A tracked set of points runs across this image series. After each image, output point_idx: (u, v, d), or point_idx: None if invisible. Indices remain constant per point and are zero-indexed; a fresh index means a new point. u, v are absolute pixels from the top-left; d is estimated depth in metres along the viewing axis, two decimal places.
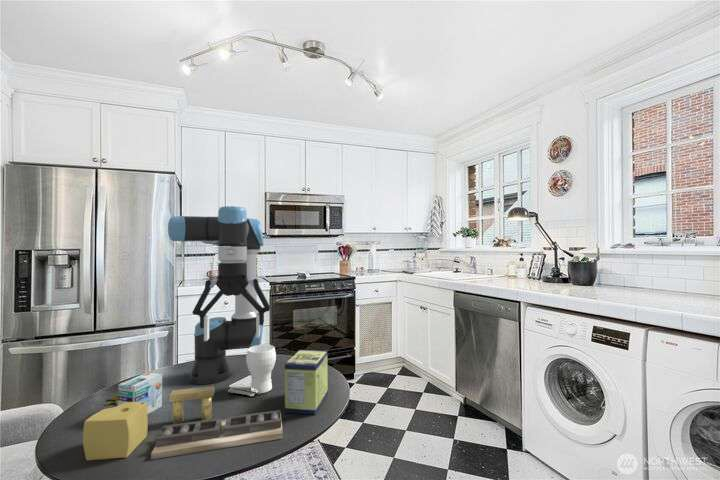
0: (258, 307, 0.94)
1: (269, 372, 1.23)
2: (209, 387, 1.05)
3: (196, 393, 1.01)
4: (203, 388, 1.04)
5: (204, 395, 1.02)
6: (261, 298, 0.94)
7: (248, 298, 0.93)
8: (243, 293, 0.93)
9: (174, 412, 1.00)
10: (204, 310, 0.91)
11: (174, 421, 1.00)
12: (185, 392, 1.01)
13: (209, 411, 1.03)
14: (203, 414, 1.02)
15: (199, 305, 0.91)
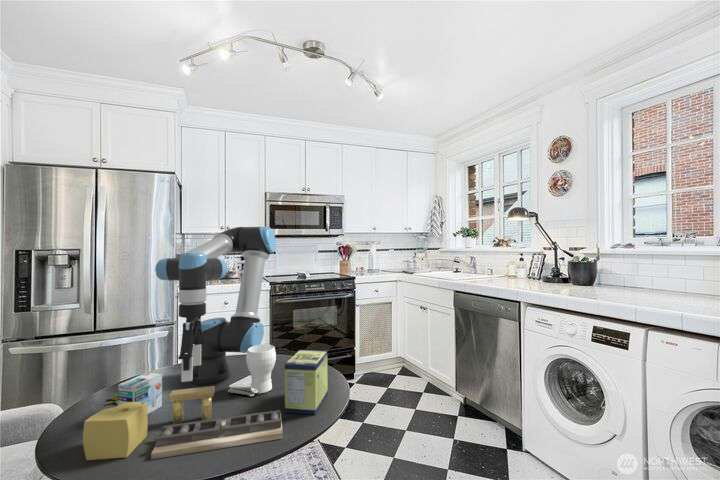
0: None
1: (269, 372, 1.23)
2: (209, 387, 1.05)
3: (196, 393, 1.01)
4: (203, 388, 1.04)
5: (204, 395, 1.02)
6: None
7: None
8: None
9: (174, 412, 1.00)
10: None
11: (174, 421, 1.00)
12: (185, 392, 1.01)
13: (209, 411, 1.03)
14: (203, 414, 1.02)
15: None
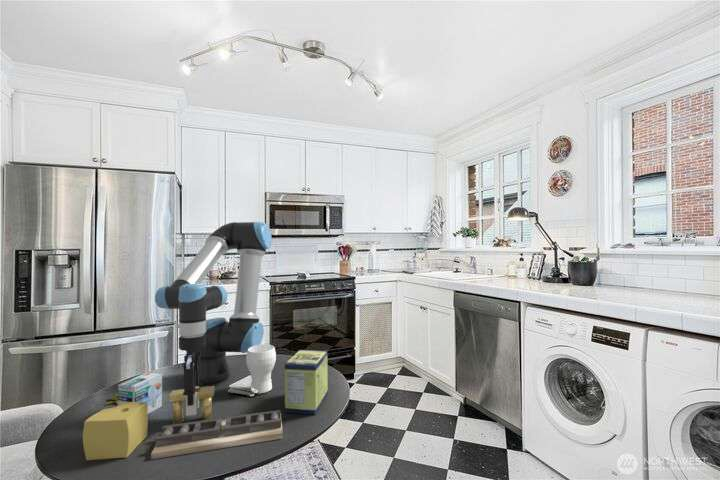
0: None
1: (269, 372, 1.23)
2: (209, 387, 1.05)
3: (196, 393, 1.01)
4: (203, 388, 1.04)
5: (204, 395, 1.02)
6: None
7: None
8: None
9: (174, 412, 1.00)
10: None
11: (174, 421, 1.00)
12: None
13: (209, 411, 1.03)
14: (203, 414, 1.02)
15: None
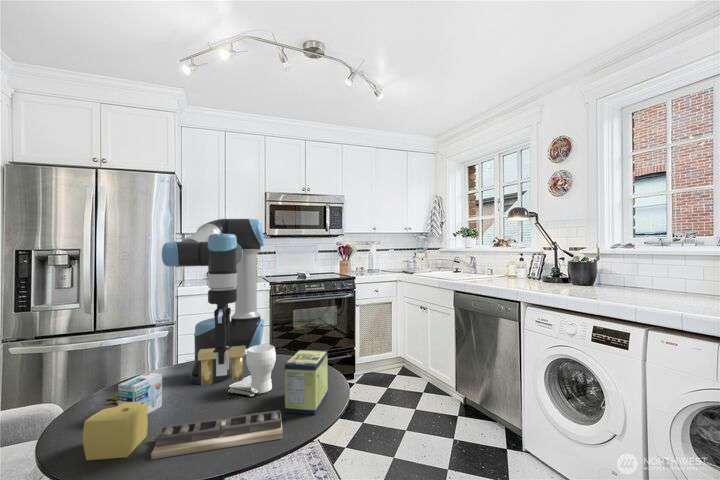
0: None
1: (269, 372, 1.23)
2: (240, 346, 0.96)
3: (227, 352, 0.93)
4: (233, 347, 0.95)
5: (235, 354, 0.93)
6: None
7: None
8: None
9: (203, 372, 0.91)
10: None
11: (203, 382, 0.91)
12: None
13: (240, 372, 0.94)
14: (234, 375, 0.94)
15: None
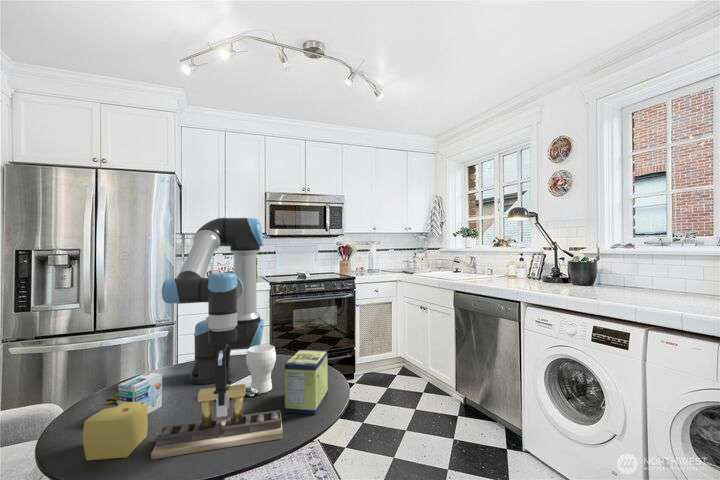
0: None
1: (269, 372, 1.23)
2: (240, 385, 0.96)
3: (227, 392, 0.92)
4: (234, 386, 0.95)
5: (235, 394, 0.93)
6: None
7: None
8: None
9: (203, 413, 0.91)
10: None
11: (203, 423, 0.91)
12: None
13: (240, 412, 0.94)
14: (234, 415, 0.93)
15: None
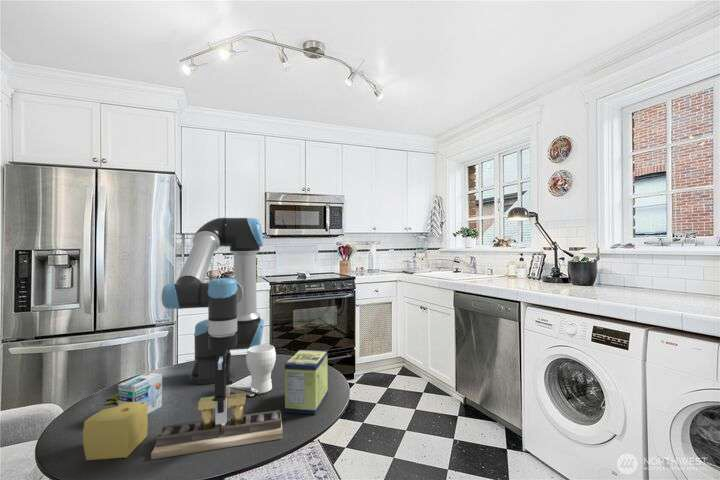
0: None
1: (269, 372, 1.23)
2: (240, 394, 0.96)
3: (227, 400, 0.93)
4: (234, 395, 0.95)
5: (236, 402, 0.93)
6: (215, 384, 0.88)
7: None
8: None
9: (203, 421, 0.91)
10: None
11: None
12: None
13: (241, 420, 0.94)
14: (234, 424, 0.94)
15: None
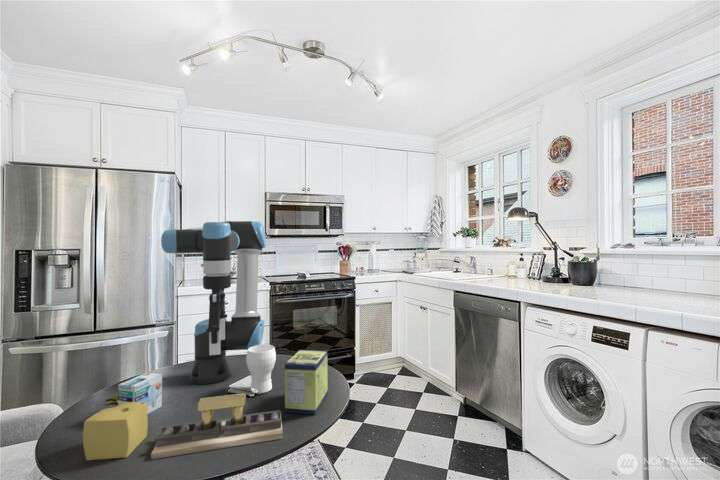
0: None
1: (269, 372, 1.23)
2: (240, 394, 0.96)
3: (227, 401, 0.92)
4: (234, 396, 0.95)
5: (235, 403, 0.93)
6: (209, 316, 0.91)
7: None
8: (209, 306, 0.95)
9: (203, 422, 0.91)
10: None
11: None
12: (215, 400, 0.92)
13: (241, 421, 0.94)
14: (234, 424, 0.93)
15: None
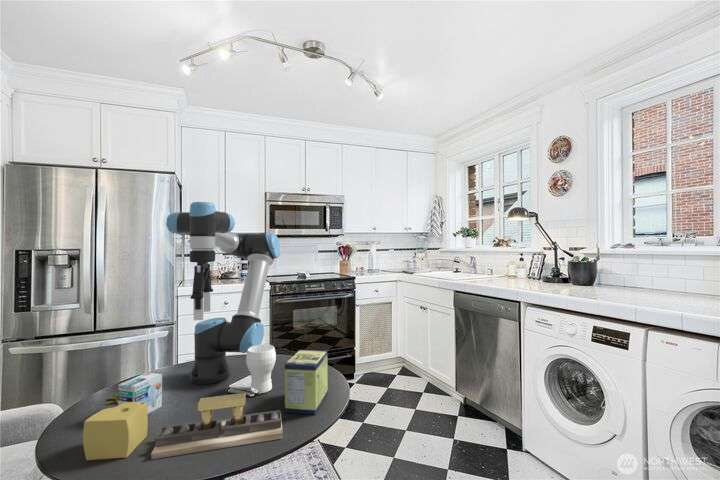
0: None
1: (269, 372, 1.23)
2: (240, 394, 0.96)
3: (227, 401, 0.92)
4: (234, 396, 0.95)
5: (235, 403, 0.93)
6: None
7: None
8: None
9: (203, 422, 0.91)
10: None
11: None
12: (215, 400, 0.92)
13: (241, 421, 0.94)
14: (234, 424, 0.93)
15: None
